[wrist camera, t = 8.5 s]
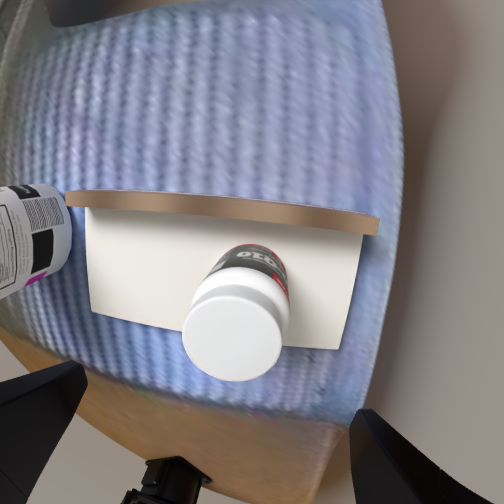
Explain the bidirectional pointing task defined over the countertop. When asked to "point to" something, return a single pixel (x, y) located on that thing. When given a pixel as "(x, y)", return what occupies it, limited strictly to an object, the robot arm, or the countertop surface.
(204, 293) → the pill bottle
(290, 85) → the countertop surface
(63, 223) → the supplement can
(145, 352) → the countertop surface
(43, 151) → the countertop surface
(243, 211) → the shelf board
